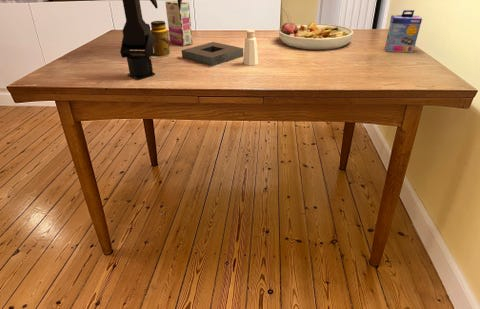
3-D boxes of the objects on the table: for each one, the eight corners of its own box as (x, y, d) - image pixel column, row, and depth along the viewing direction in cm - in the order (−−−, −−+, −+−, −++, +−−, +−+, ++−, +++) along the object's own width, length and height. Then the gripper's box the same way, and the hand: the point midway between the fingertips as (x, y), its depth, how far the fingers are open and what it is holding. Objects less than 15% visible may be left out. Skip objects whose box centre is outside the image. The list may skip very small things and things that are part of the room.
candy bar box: (193, 44, 142) (189, 2, 133) (183, 46, 139) (178, 3, 131) (179, 40, 149) (174, 0, 141) (169, 42, 146) (164, 1, 138)
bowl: (344, 34, 152) (347, 16, 148) (358, 52, 127) (361, 30, 123) (278, 35, 155) (279, 16, 151) (278, 52, 130) (279, 30, 126)
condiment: (174, 55, 128) (170, 22, 122) (153, 58, 124) (147, 24, 118) (166, 51, 134) (162, 19, 127) (146, 54, 130) (140, 21, 123)
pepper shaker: (261, 63, 116) (262, 30, 110) (248, 66, 114) (248, 32, 108) (252, 60, 120) (252, 28, 114) (240, 62, 117) (239, 30, 112)
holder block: (212, 66, 114) (211, 57, 113) (182, 58, 124) (181, 50, 122) (243, 56, 124) (243, 48, 123) (213, 49, 134) (213, 41, 132)
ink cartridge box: (386, 52, 125) (394, 10, 118) (383, 48, 130) (391, 8, 122) (414, 53, 124) (424, 10, 116) (411, 49, 128) (420, 8, 121)
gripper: (190, -44, 122) (196, -1, 133) (141, -44, 123) (150, -1, 135) (183, -33, 114) (190, 12, 126) (131, -33, 116) (142, 11, 128)
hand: (168, 8), depth 129 cm, fingers open, 9 cm apart
